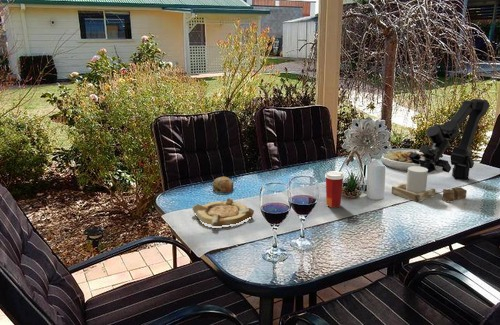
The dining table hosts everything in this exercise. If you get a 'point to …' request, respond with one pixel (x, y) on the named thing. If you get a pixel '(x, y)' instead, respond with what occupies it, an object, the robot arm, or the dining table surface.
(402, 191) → the open wooden frame
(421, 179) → the cup
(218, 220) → the ashtray
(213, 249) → the dining table surface
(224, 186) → the bread roll
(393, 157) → the bowl
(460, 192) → the walnut block
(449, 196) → the walnut block
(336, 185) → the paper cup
